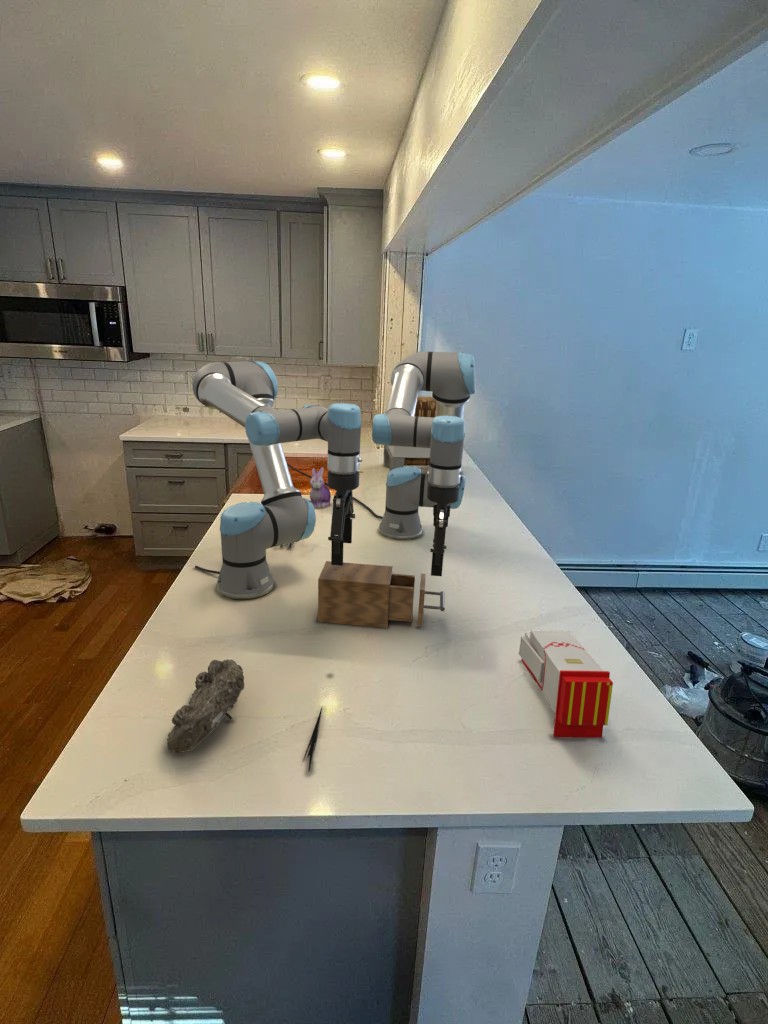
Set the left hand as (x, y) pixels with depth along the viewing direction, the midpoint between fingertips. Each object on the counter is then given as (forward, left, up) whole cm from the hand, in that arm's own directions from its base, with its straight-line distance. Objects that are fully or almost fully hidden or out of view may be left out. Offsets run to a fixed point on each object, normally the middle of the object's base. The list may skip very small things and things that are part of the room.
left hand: (341, 553), depth 141 cm
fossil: (-5, -46, -17) cm, 49 cm away
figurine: (-45, +72, -17) cm, 87 cm away
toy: (+55, -9, -17) cm, 58 cm away
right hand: (+23, +7, -4) cm, 24 cm away
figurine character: (-36, +34, -17) cm, 53 cm away
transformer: (-25, +137, -17) cm, 140 cm away
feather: (+14, -38, -17) cm, 44 cm away
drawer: (+15, +5, -16) cm, 22 cm away
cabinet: (+4, +1, -17) cm, 17 cm away
